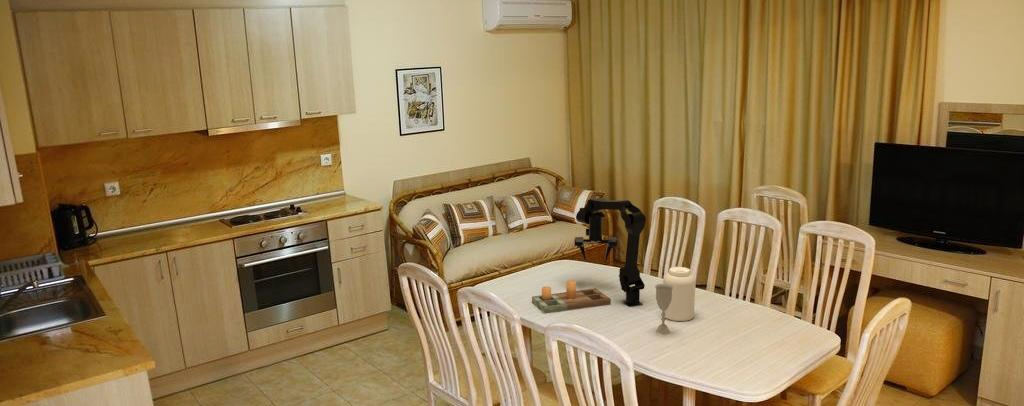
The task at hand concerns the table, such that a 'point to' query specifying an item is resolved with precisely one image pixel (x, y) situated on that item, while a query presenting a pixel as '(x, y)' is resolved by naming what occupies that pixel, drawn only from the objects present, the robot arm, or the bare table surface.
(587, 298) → the pin board
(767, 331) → the table surface
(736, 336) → the table surface
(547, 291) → the model pin
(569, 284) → the orange pin
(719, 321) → the table surface
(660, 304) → the chalice
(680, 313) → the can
